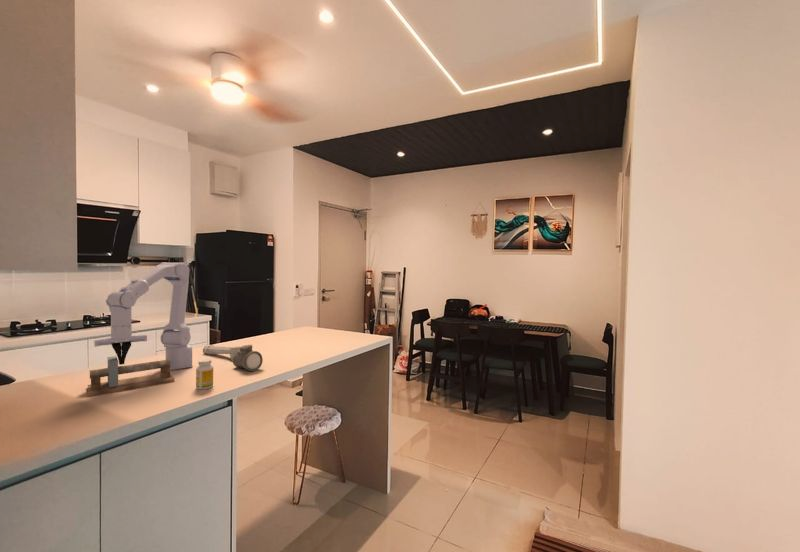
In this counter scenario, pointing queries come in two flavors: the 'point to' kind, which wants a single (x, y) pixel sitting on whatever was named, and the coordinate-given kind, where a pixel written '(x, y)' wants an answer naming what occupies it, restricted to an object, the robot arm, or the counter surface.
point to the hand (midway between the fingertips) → (121, 363)
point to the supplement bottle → (204, 374)
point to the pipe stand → (130, 383)
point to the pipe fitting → (248, 358)
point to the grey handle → (221, 350)
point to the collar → (113, 371)
